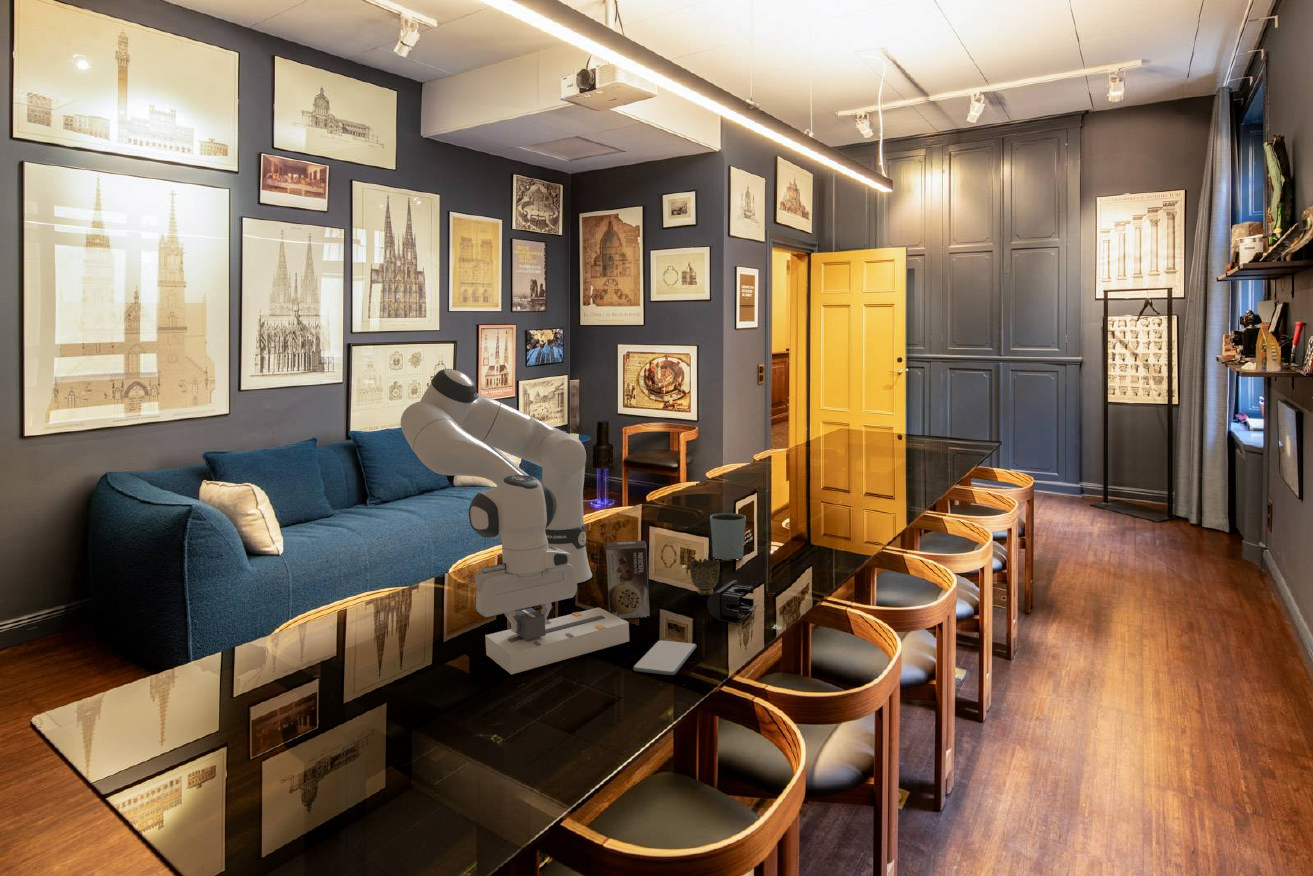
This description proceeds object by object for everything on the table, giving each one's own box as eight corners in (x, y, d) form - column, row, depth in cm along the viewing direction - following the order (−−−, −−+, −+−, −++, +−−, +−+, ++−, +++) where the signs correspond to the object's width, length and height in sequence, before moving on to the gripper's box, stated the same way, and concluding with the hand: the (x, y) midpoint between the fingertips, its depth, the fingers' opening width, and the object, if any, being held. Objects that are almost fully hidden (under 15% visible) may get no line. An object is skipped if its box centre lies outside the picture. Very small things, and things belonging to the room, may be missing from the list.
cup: (718, 599, 180) (717, 566, 179) (688, 598, 182) (687, 565, 181) (722, 589, 187) (721, 558, 186) (692, 589, 189) (691, 557, 188)
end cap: (725, 607, 175) (725, 578, 174) (754, 611, 172) (754, 582, 171) (707, 620, 166) (706, 590, 166) (737, 625, 163) (736, 594, 162)
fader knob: (526, 640, 146) (525, 619, 145) (513, 631, 151) (512, 611, 150) (545, 635, 148) (544, 615, 148) (532, 627, 153) (531, 607, 152)
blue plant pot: (705, 555, 220) (704, 514, 219) (738, 551, 223) (737, 511, 222) (719, 564, 210) (718, 521, 209) (752, 560, 213) (751, 518, 212)
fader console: (511, 674, 141) (510, 652, 141) (486, 654, 151) (485, 634, 150) (629, 641, 156) (628, 621, 155) (599, 625, 166) (598, 606, 165)
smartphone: (697, 643, 152) (674, 672, 138) (697, 648, 152) (674, 677, 138) (658, 639, 155) (631, 667, 141) (658, 644, 155) (631, 672, 141)
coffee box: (648, 608, 176) (646, 540, 174) (649, 618, 169) (647, 547, 167) (609, 610, 175) (606, 541, 173) (608, 619, 169) (605, 548, 167)
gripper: (480, 572, 139) (485, 645, 141) (579, 553, 151) (582, 620, 152) (468, 565, 144) (472, 635, 146) (564, 547, 156) (567, 612, 157)
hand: (529, 628), depth 149 cm, fingers closed on fader knob, 4 cm apart
